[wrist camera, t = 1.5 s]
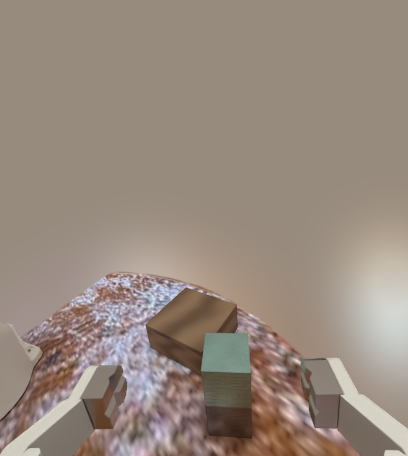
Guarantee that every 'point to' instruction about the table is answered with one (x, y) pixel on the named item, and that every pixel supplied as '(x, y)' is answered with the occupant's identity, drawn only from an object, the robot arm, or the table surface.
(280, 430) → the table surface
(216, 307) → the walnut stand
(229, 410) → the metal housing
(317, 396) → the robot arm
